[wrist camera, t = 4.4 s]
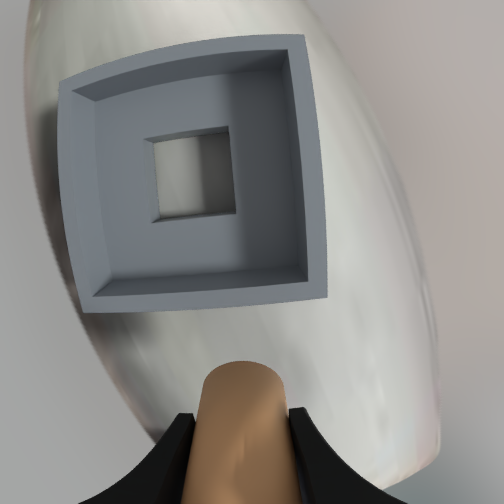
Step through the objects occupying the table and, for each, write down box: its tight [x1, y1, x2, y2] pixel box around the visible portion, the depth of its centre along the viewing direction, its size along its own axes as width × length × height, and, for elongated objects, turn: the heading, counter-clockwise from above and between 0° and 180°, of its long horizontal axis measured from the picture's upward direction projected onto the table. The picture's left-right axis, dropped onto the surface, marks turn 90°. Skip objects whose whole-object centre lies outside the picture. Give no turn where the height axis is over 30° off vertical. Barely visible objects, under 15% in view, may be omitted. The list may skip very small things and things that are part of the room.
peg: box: [181, 361, 303, 504], centre depth 9 cm, size 4×4×8 cm
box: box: [57, 34, 327, 313], centre depth 15 cm, size 14×14×5 cm
